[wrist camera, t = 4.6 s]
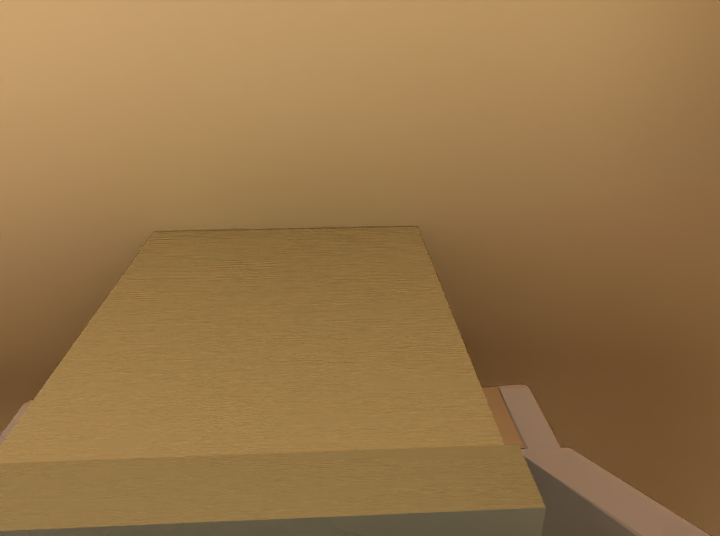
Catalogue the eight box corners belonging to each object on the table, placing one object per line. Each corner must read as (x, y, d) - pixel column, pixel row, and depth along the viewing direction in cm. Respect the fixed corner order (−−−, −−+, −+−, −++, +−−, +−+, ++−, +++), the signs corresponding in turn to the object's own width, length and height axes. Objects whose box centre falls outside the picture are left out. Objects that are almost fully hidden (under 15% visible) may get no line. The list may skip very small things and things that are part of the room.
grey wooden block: (423, 221, 12) (545, 507, 5) (413, 437, 14) (491, 830, 7) (147, 226, 11) (-86, 534, 5) (181, 445, 14) (49, 860, 7)
